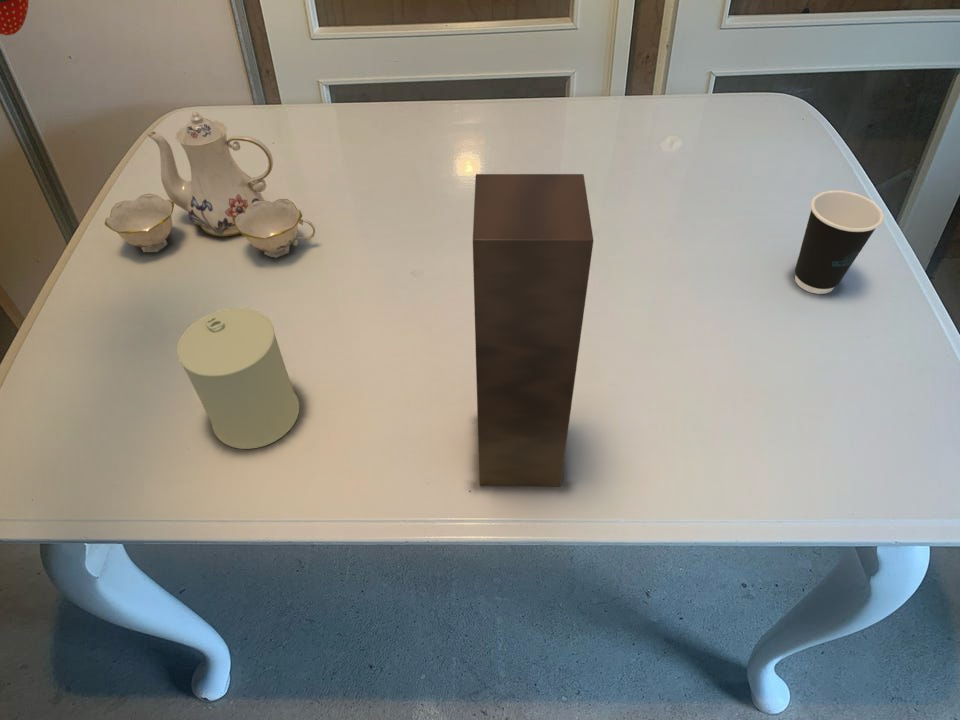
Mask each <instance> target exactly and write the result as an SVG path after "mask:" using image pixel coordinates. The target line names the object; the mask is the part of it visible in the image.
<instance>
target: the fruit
mask: <svg viewBox="0 0 960 720" xmlns="http://www.w3.org/2000/svg"><path fill="white" fill-rule="evenodd" d="M29 2H30V0H10V1H6V2H2V3H0V35H2V36H13V35H15V34H17V33H18V32H19V31H20V30H21V28H22V27H23V25H24V24H25V22H26V18H27V14H28V9H29V4H30V3H29Z"/></svg>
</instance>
